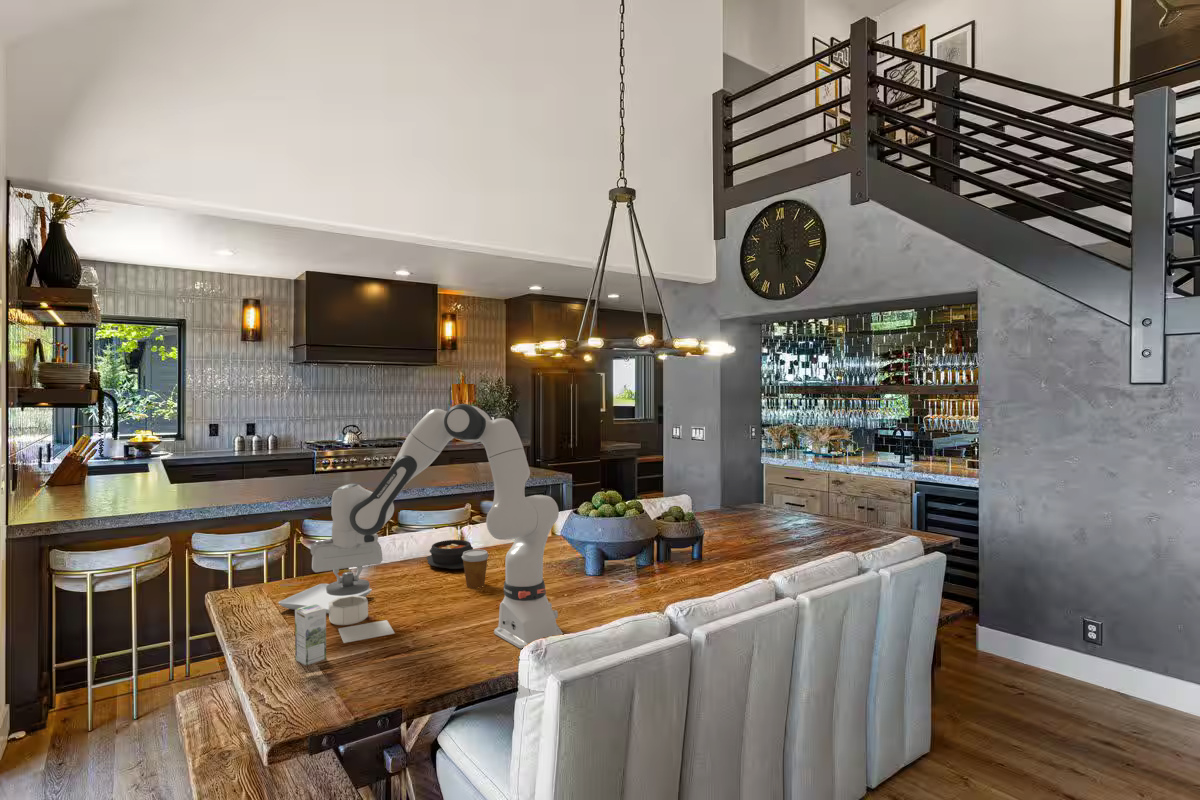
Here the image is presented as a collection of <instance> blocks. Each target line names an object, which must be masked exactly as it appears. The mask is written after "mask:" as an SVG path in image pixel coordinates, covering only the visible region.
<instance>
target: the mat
mask: <svg viewBox="0 0 1200 800" xmlns="http://www.w3.org/2000/svg"><path fill="white" fill-rule="evenodd" d="M337 630H338V633H339V636H340V638H341V640H342V642H343V644H346V643H351V642H357V641H362V640H368V639H373V638H378V637H383V636H390V635H394V634H396V633H395V631H394V629H393V628H392V626H391V624H390V622H389V621H388V620H387V619H386V620H379V621H373V622H367V623H362V624H356V625H351V626H350V625H349V626H345V627H339V628H337Z"/></svg>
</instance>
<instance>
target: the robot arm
mask: <svg viewBox="0 0 1200 800" xmlns="http://www.w3.org/2000/svg"><path fill="white" fill-rule="evenodd" d="M453 439H457V440H460V441H463V442H465V443H469V444H470V443H471V444H482V445H483V447H484V450H485V451H486V456H487V459H488V463H489V467H490V471H491V475H492V480H493V486H494V487H493V488H494V493H493V501H492V504H491V507H490V509H489V510H488V512H487V514H486V519H485V520H486V521H485V524H486V528H487V530H488V532H489V534H490V535H491V536H492V537H493V538H494V539H496V540H500V541H501V540H504V541H505V540H507V541H508V540H514V541H513V543H512V545H511V547H510V549H509V550H507V553H506V555H505V560H504V561H505V563H504V564H505V565H504V566H505V567H504V568H505V573H504V574H505V580H504V583H503V594H504V596H503V599H502V600H501V602H500V604H499V613H498V626H497V627H496V628H494V630H493V634H495V635H496V636H497V637H499V638H501V639H503V640H504V641H506V642H508V643H509V644H511V645H514V646H515V647H516V648H518V649H522V648H523V647H524V646H525V645H527V644H528V643H530V642H532V641H534V640H536V639H540V638H543V637H547V636H552V635H559V634H564V633H563V632H562V630H561V628H560V627H559V626H558V624H557V620H556V619H558V618H559V614H558V610H553V608H552V607H553V606H552V605H553V604H552V602H550V601H549V600H548V597H547V591H546V584H545V580H544V577H543V576H544V573H543V572H544V571H543V570H544V552H545V548H546V545H547V541H548V537H549V535H550V533H551V530H552V528H553V526H555V524H556V522H557V520H558V518H559V515H560V514H559V513H560V512H559V506H558V503H557V502H556V501H555V499H554V498H553V497H552V496H549V495H544V494H543V495H542V494H534V495H529V496H526V495H525V493H526V492H525V488H526V487H525V485H526V484H527V481H528V479H530V476H531V470H530V466H529V463H528V460H527V456H526V452H525V449H524V445H523V443H522V440H521V437H520V435H519V433H518V431H517V428H516V427H515V424H514V423H513V421H511V419H508V418H504V417H503V418H502V417H501V418H495V419H493V417H492V416H491V415H490V414H489V412H487V411H485V410H483V409H481V408H480V407H477V406H475V405H470V404H467V403H459V404H455V405H453V406H451V407H450V408H449V409H448V410H447V411H446V410H444V409H442V408H433V409H430V410H429V411H428V412H427V413H426V414H425V415H424V416H423V417H422V418H421V419H420V420H419V421H418V422H417V424H416V425H415V426H414V427H413V428H412V430H411V431H410V432H409V434H408V435H407V436H406V439H405V441H404V442H403V443H402V446H401V448H400V450H399V452H398V453H397V455H396V457H395V460H394V461H393V463H392V465H391V467H390V469H389V470H388V472H387V473H386V474H385V476H384V477H383V478H382V480H381V481H380V482H379V484H378V485H377V486H376V488H375V489H374V491H371V490H369V489H366V488H365V487H363V486H361V485H360V484H358V483H349V484H344V485H341V486H339V487H337V488H336V489H335V490H334V491H333V493H332V495H331V511H330V512H331V517H332V525H331V538H329V539H322V540H320V539H319V540H316V541H315V542H313V543H311V545H310V554H311V556H312V557H311V569H312V571H313V572H314V573H320V572H328V571H333V574H334V575H335V577H336V581H337V583H338V584H339V583H343V577H342V575H339V573H340V571H339V570H343V569H350V568H356V569H357V570H356V572H355V573H353V581H359V579H360V577H359V576H360V574H361V573H362V571H363V567H364V566H365V567H366V566H372V565H374V566H375V565H379V564H381V563H382V562H383V551H382V546H381V544H380V543H379V536H378V535H379V534H378V533H379V532H380V531H381V529H382V528H383V527H384V526H385V524H387V522H388V521H390V519H391V518H392V517H393V515H394V513H395V503H394V501H395V499H396V498H397V497H398V496H399V495H400V493H401V491H402V490H403V489H404V488H405V487H406V485H407V484H408V483H409V482H410V481H411V480H412V479H414V478H415V477H416V476H418V475H419V474H420V473H422V472H423V471H425V470H426V469H427V468H428V467H429V466H431V464H433V462H435V460H436V459H437V458H438V456H439V455H441V453H442V451H443V450H444V448H445V447H447V444H448V443H449V442H450V441H452V440H453Z"/></svg>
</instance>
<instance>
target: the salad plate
mask: <svg viewBox="0 0 1200 800" xmlns="http://www.w3.org/2000/svg"><path fill="white" fill-rule="evenodd" d="M329 584H330V583H319V584H317V585H314V586H312V587H310V588H307V589H305V590H303V591H301V592H298V593H296V594H295V593H294V594H293V595H291V596H288V597H287V598H284V599H282V600H279V601H278V602H277V603H278V605H280V606H281V607H283V608H285V609H289V610H294V611H295V609H298V608H302V607H305V606H309V605H312V604H318V605H321V606H322V607H324V608H325V609H326V615H327V614H328V615H329V602H331V601H333V600H335V599H337V598H341V597H347V596H363V597H366V596H368V595H369V594H370V593H371V592H372V588H369V589H368V590H366V591H364V592H361V593H358V594H353V595H346V596H335V595H330V594H328V593H327V592H326V587H327V585H329Z"/></svg>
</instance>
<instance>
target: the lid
mask: <svg viewBox="0 0 1200 800" xmlns="http://www.w3.org/2000/svg"><path fill="white" fill-rule="evenodd" d="M353 574H354V572H353V571H346V572H343V573H342V574H341V576H342V577H343V583H339V584H338V583H337V580H336V581H333V582H330V583H328V584H329V585H327V587H326V592H327V593H328V594H330V595H335V596H346V595H353V594H358V593H361V592H364V591H366V590H368V589H370V581H369V580H367V579H364V578H363V579H362V578H359V581H353Z"/></svg>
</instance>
